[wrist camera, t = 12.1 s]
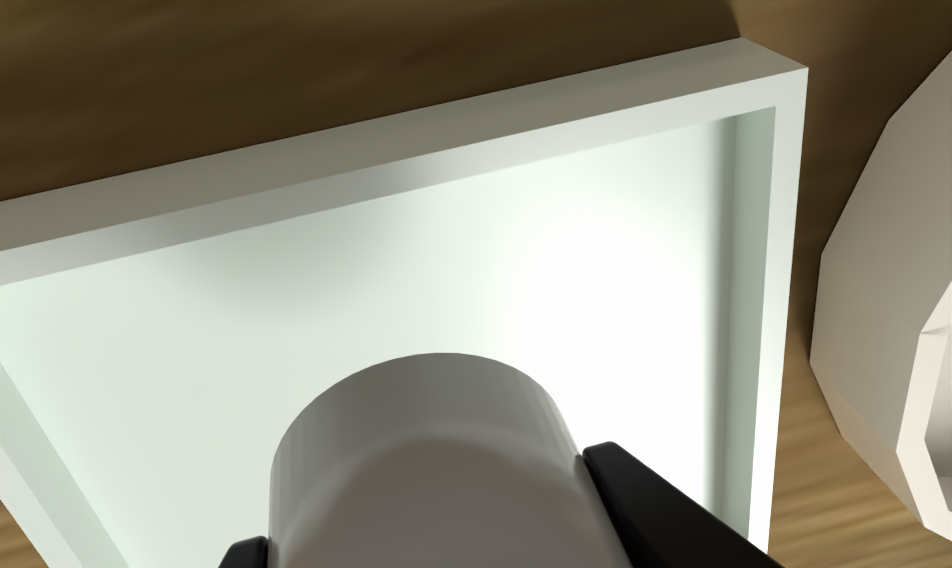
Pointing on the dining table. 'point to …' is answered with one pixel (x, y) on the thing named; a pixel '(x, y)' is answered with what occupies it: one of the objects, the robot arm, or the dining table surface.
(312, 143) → the tray
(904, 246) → the bowl
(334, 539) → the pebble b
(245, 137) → the dining table surface
